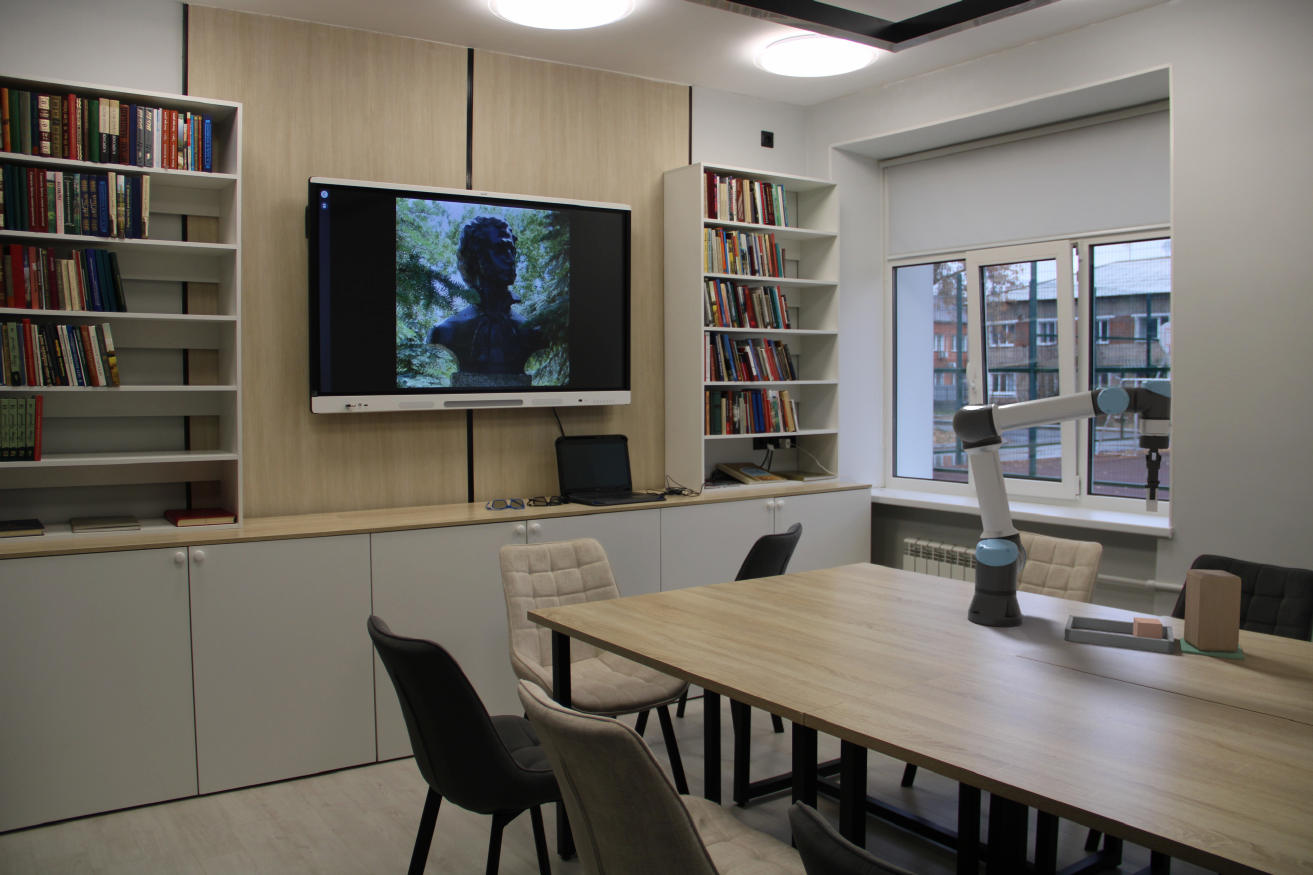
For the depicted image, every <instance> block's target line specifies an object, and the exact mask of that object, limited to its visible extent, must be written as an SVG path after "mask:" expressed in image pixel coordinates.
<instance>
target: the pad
mask: <svg viewBox="0 0 1313 875" xmlns="http://www.w3.org/2000/svg"><path fill="white" fill-rule="evenodd" d="M1179 644H1180V650H1181V653H1184V654H1194V655H1200V656H1206V657H1207V656H1209V657H1215V658H1217V657H1218V658H1225V659H1233V660H1242V661H1245V655H1244V652H1243V651H1242V650H1243V649H1242V648H1241V646H1240V644H1239V645H1238V651H1236V652H1219V651H1201V650H1198V649H1197V648H1195V647H1193V646H1192V645H1190V644H1188V643H1187V642H1185V640H1184V637H1179Z"/></svg>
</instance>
